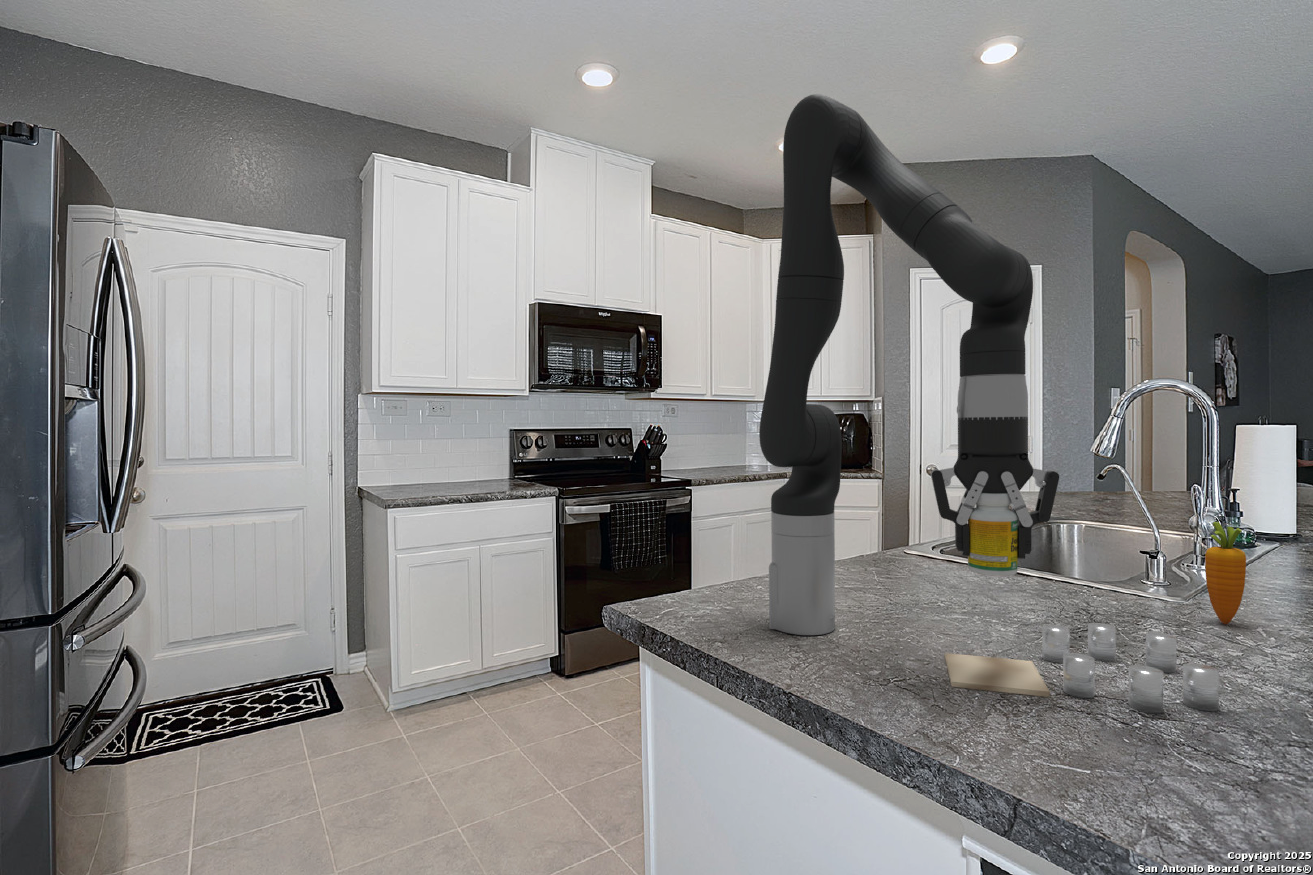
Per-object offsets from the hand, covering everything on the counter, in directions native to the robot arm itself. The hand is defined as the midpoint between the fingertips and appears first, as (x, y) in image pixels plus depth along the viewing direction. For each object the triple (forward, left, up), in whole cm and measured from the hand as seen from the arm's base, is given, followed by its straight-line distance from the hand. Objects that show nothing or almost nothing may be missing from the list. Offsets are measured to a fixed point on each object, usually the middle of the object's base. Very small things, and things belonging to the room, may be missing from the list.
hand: (992, 555), depth 81 cm
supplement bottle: (0, 0, -2) cm, 2 cm away
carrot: (+35, +32, -15) cm, 50 cm away
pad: (0, 0, -14) cm, 14 cm away
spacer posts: (+14, +3, -14) cm, 20 cm away
